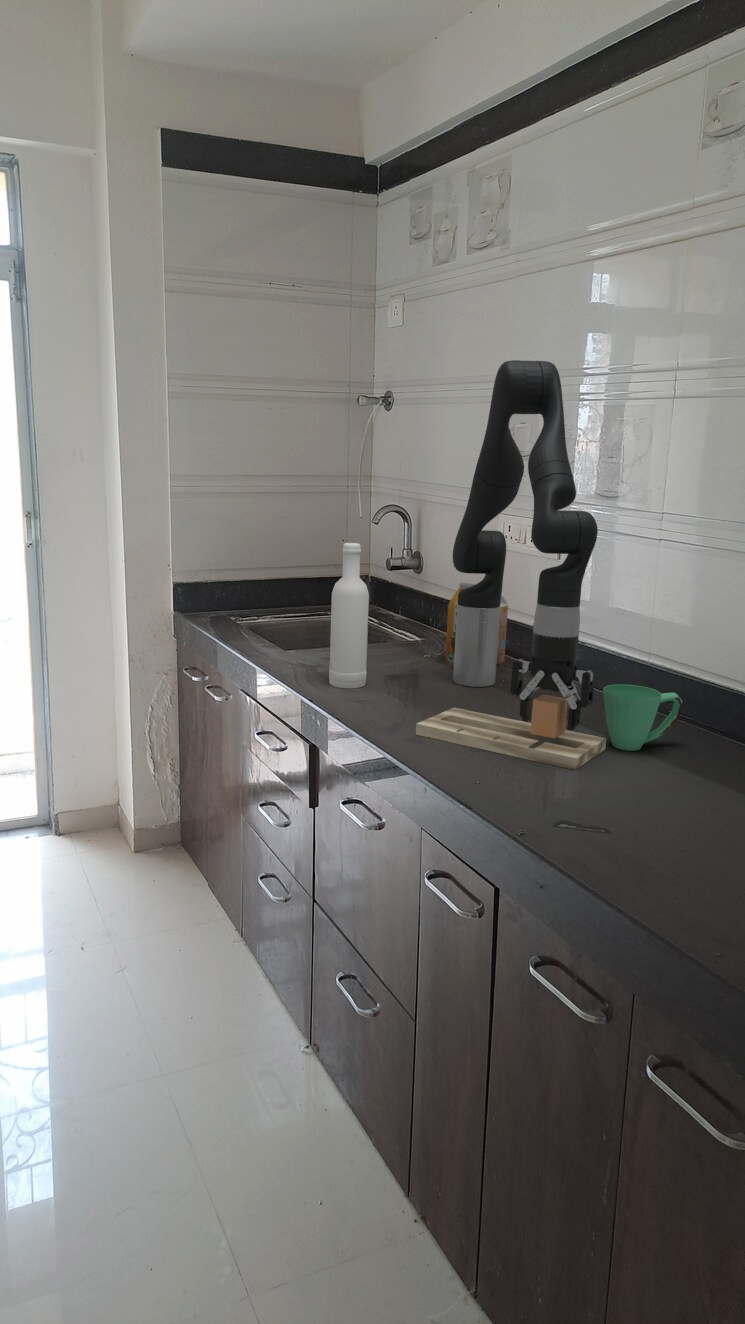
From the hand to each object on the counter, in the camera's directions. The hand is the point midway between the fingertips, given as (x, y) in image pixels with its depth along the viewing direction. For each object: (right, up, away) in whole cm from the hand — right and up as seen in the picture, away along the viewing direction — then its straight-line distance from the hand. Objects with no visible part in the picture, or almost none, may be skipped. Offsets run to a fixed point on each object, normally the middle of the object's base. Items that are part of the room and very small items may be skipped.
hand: (548, 724), depth 163 cm
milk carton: (-6, +10, +66) cm, 67 cm away
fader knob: (0, -4, +1) cm, 5 cm away
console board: (-6, -3, +5) cm, 8 cm away
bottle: (-35, +6, +41) cm, 54 cm away
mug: (+17, -4, +5) cm, 18 cm away
